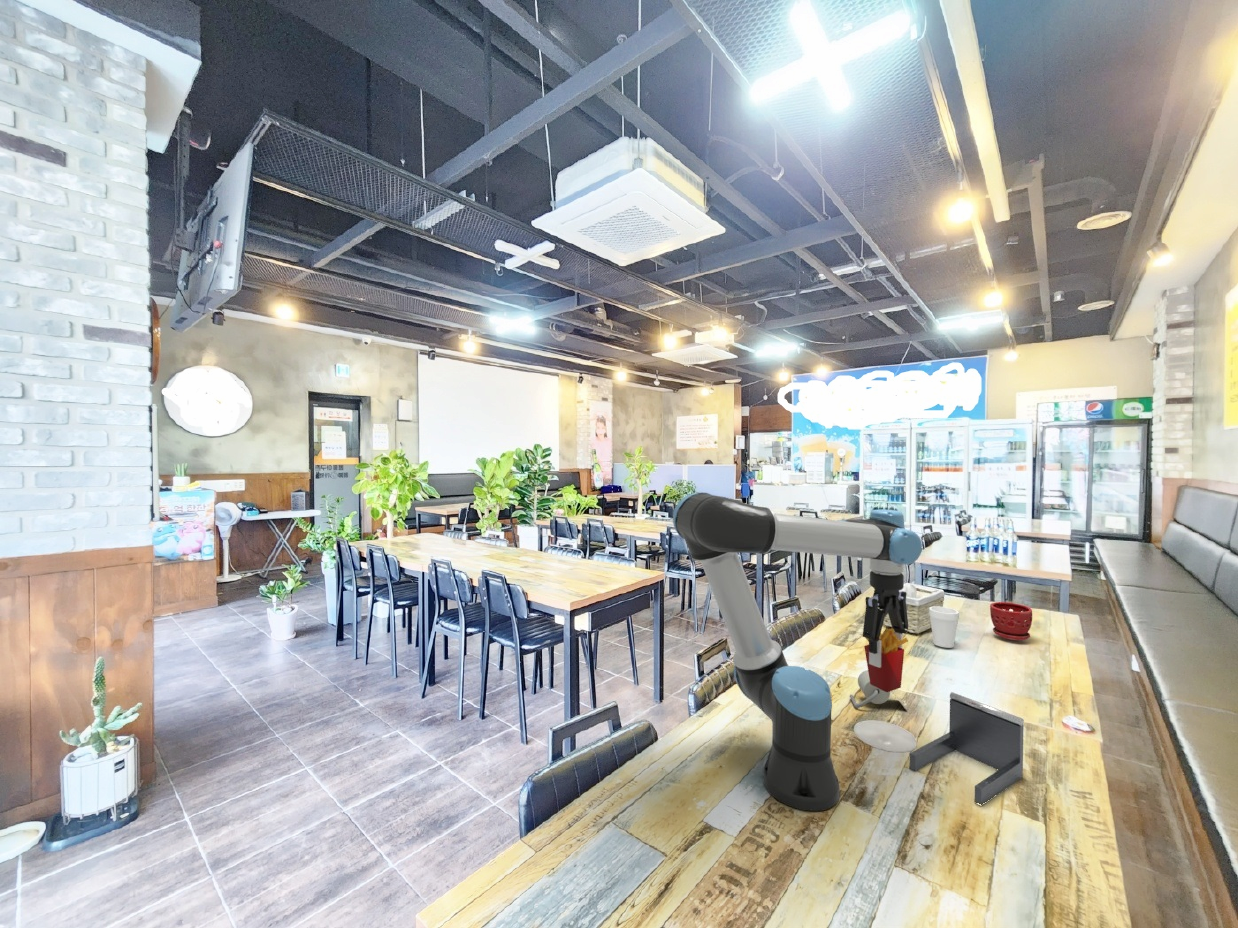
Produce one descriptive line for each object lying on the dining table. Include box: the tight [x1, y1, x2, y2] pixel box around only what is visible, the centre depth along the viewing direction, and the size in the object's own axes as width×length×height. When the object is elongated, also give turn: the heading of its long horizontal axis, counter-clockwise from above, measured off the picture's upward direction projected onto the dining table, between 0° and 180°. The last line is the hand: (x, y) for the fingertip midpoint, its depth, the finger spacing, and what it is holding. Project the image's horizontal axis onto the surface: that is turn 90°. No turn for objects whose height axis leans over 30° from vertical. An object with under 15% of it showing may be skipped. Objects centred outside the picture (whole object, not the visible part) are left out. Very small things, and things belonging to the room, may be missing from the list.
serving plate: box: [853, 719, 918, 754], centre depth 129 cm, size 14×14×1 cm
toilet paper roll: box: [849, 669, 906, 709], centre depth 146 cm, size 10×11×12 cm
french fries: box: [864, 627, 909, 693], centre depth 127 cm, size 9×8×15 cm
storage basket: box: [883, 582, 945, 634], centre depth 214 cm, size 24×16×15 cm
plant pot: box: [989, 601, 1033, 642], centre depth 200 cm, size 13×13×12 cm
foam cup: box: [929, 606, 960, 649], centre depth 192 cm, size 10×9×13 cm
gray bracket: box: [909, 691, 1025, 806], centre depth 114 cm, size 19×14×14 cm
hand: (885, 661), depth 128 cm, fingers closed on french fries, 8 cm apart
